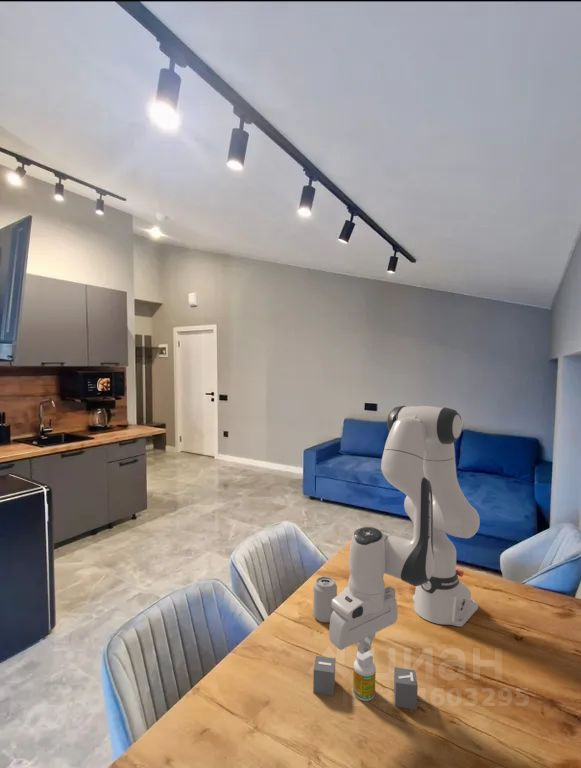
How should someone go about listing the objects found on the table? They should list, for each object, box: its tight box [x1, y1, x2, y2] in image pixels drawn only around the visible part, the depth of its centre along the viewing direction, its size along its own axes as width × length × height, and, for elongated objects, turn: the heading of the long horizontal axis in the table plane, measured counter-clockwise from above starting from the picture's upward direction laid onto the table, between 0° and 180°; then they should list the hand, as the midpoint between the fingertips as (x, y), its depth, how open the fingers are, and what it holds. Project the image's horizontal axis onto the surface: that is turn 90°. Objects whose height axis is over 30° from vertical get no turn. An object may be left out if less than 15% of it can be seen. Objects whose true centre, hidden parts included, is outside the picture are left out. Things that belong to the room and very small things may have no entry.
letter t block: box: [393, 666, 418, 711], centre depth 100 cm, size 5×5×6 cm
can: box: [312, 575, 338, 624], centre depth 132 cm, size 8×8×12 cm
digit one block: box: [312, 655, 336, 697], centre depth 103 cm, size 5×5×6 cm
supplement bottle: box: [352, 650, 377, 702], centre depth 102 cm, size 5×5×10 cm
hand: (364, 650), depth 101 cm, fingers closed
